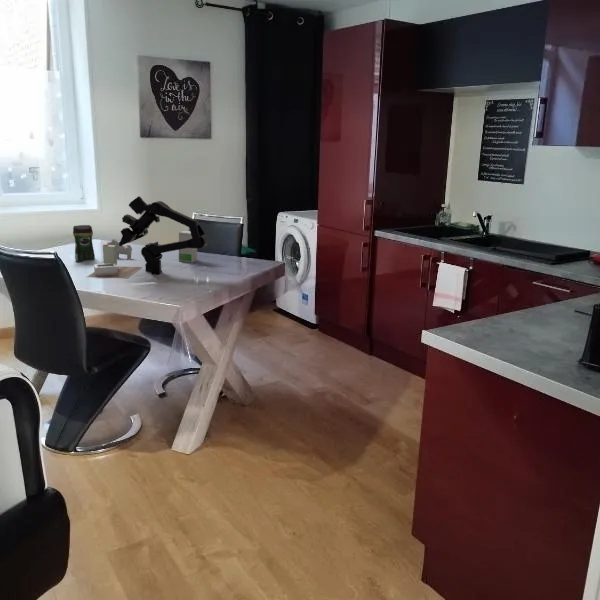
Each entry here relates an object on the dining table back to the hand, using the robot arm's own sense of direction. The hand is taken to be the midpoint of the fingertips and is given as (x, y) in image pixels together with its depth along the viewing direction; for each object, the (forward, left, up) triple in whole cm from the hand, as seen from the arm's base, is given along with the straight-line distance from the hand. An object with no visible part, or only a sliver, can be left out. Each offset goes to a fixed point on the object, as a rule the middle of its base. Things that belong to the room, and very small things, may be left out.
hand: (123, 243), depth 275 cm
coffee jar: (+27, -20, -14) cm, 37 cm away
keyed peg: (+7, -1, -12) cm, 15 cm away
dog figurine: (+11, -28, -14) cm, 33 cm away
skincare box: (-25, -29, -14) cm, 40 cm away
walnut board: (+2, +6, -13) cm, 15 cm away
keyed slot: (+5, +11, -12) cm, 17 cm away
